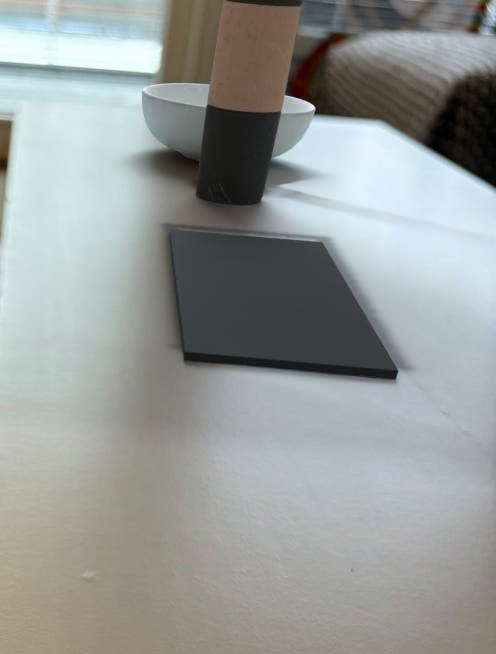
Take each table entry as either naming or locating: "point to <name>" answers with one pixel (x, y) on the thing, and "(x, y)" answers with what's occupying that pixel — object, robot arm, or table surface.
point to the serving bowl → (189, 116)
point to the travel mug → (246, 98)
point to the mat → (271, 306)
